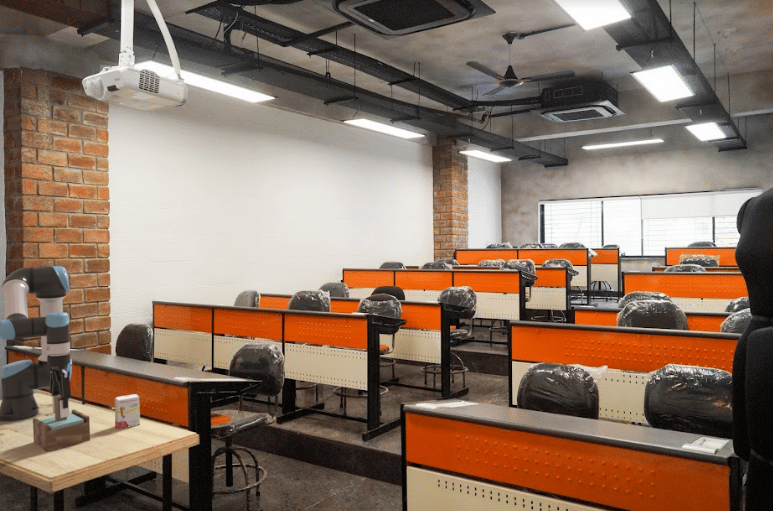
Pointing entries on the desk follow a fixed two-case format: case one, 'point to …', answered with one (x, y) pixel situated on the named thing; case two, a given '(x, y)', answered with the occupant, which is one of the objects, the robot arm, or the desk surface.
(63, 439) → the walnut box
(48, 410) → the desk surface
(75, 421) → the lid
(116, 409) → the ink box
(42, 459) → the desk surface
